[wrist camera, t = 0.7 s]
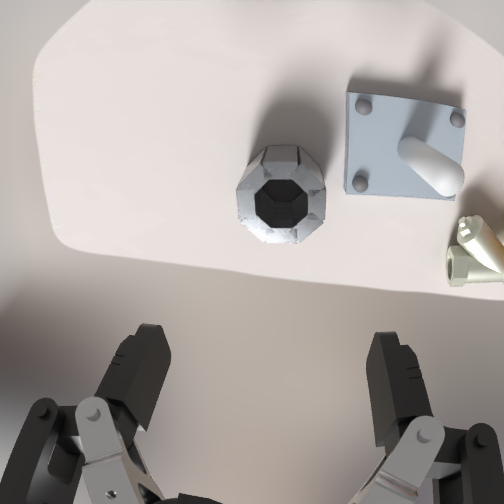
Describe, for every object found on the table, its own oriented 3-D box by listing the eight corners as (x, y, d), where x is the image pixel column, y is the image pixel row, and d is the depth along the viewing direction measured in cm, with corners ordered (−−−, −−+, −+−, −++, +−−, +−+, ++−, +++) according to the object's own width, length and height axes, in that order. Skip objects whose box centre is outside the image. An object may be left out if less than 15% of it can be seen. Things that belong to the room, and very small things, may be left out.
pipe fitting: (449, 208, 24) (444, 269, 27) (458, 227, 21) (450, 293, 24) (517, 208, 21) (508, 267, 24) (533, 226, 18) (519, 289, 21)
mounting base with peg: (457, 107, 19) (517, 127, 12) (447, 194, 23) (494, 241, 16) (345, 91, 20) (373, 98, 13) (343, 187, 24) (363, 237, 17)
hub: (320, 146, 23) (327, 162, 19) (318, 214, 26) (323, 243, 22) (244, 146, 24) (233, 162, 20) (249, 213, 27) (240, 242, 23)
